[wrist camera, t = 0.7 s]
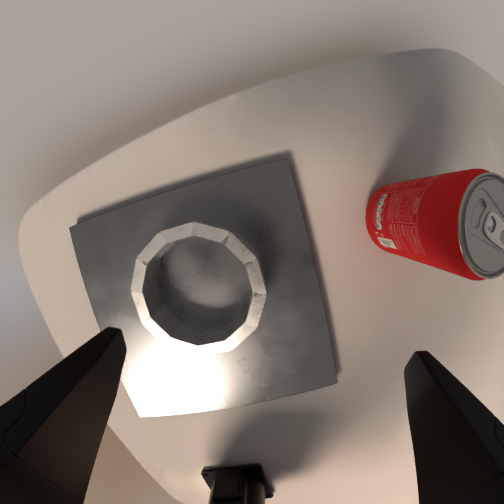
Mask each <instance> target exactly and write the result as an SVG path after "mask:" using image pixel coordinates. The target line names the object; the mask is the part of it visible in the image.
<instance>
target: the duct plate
mask: <svg viewBox="0 0 504 504" xmlns="http://www.w3.org/2000/svg"><path fill="white" fill-rule="evenodd" d="M69 229H70V233H71V238H72V242H73V246H74V250H75V253H76V257H77V261H78V264H79V268H80V271H81V275H82V278H83V281H84V285H85V288H86V291H87V294H88V297H89V300H90V303H91V306H92V309H93V312H94V314H95V317H96V320H97V323H98V325H99V328H100V331H102V330H104V329H105V328H107V327H115V328H119V329H121V330H122V333H123V336H124V340H125V343H126V347H127V353H126V358H125V362H124V366H123V370H122V374H121V380H122V382H123V384H124V386H125V388H126V391H127V393H128V395H129V397H130V399H131V401H132V403H133V404H134V406H135V408H136V410H137V412H138V414H139V416H140V417H153V416H166V415H178V414H187V413H196V412H204V411H212V410H219V409H225V408H231V407H237V406H243V405H249V404H254V403H259V402H264V401H269V400H274V399H278V398H283V397H287V396H291V395H295V394H300V393H304V392H307V391H311V390H315V389H319V388H322V387H326V386H329V385H333V384H336V383H338V380H337V374H336V369H335V363H334V357H333V352H332V346H331V341H330V336H329V330H328V325H327V320H326V315H325V310H324V306H323V301H322V296H321V291H320V287H319V282H318V278H317V273H316V269H315V264H314V260H313V256H312V251H311V247H310V243H309V239H308V235H307V230H306V226H305V222H304V218H303V214H302V210H301V207H300V203H299V199H298V195H297V191H296V188H295V184H294V180H293V176H292V173H291V169H290V166H289V162H288V159H284V160H279V161H275V162H271V163H267V164H263V165H259V166H255V167H251V168H247V169H244V170H240V171H236V172H232V173H229V174H225V175H222V176H218V177H214V178H211V179H208V180H204V181H201V182H197V183H194V184H191V185H187V186H184V187H181V188H178V189H175V190H171V191H168V192H165V193H162V194H159V195H156V196H153V197H150V198H147V199H144V200H141V201H138V202H135V203H133V204H130V205H127V206H124V207H121V208H119V209H116V210H113V211H110V212H108V213H105V214H102V215H100V216H97V217H94V218H92V219H89V220H87V221H84V222H82V223H79V224H77V225H74V226H72V227H69Z"/></svg>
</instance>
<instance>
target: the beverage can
mask: <svg viewBox="0 0 504 504" xmlns="http://www.w3.org/2000/svg"><path fill="white" fill-rule="evenodd" d="M365 219H366V226H367V230H368V233H369V235H370V237H371V239H372V240H373V242H374V243H375V244H376V245H377V246H378V247H379V248H381V249H383V250H384V251H387V252H390V253H393V254H396V255H399V256H402V257H405V258H408V259H412V260H415V261H418V262H421V263H424V264H427V265H430V266H433V267H436V268H439V269H442V270H444V271H447V272H450V273H453V274H456V275H459V276H462V277H465V278H468V279H471V280H484V279H493V278H496V277H499V276H501V275H502V274H503V273H504V178H503V177H502V176H500V175H498V174H496V173H492V172H489V171H487V170H484V169H470V170H464V171H458V172H452V173H447V174H441V175H436V176H430V177H425V178H420V179H414V180H409V181H404V182H399V183H394V184H389V185H386V186H383V187H382V188H380V189H379V190H377V191H376V192H375V193H374V195H373V196H372V197H371V199H370V201H369V203H368V206H367V210H366V216H365Z"/></svg>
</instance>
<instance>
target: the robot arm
mask: <svg viewBox="0 0 504 504" xmlns="http://www.w3.org/2000/svg"><path fill="white" fill-rule="evenodd" d="M126 353H127V347H126V343H125V340H124V336H123V333H122V330H121V329H119V328H115V327H107V328H105V329H104V330H102V331H101V332H100V333H98V334H97V335H96V336H94V337H93V338H91V339H90V340H89V341H87V342H86V343H85V344H83V345H82V346H81V347H79V348H78V349H77V350H75V351H74V352H72V353H71V354H70V355H68V356H67V357H66V358H64V359H63V360H62V361H61V362H60V363H58V364H56V365H55V366H54V367H53V368H51V369H50V370H49V371H47V372H46V373H44V374H43V375H42V376H41V377H39V378H38V379H37V380H35V381H34V382H33V383H31V384H30V385H29V386H28V387H26V389H23V390H22V391H21V392H20V393H18V394H17V395H16V396H14V397H13V398H12V399H10V400H9V401H7V402H6V403H4V404H3V405H2V406H0V504H83V501H84V499H85V494H86V491H87V487H88V484H89V480H90V476H91V473H92V469H93V466H94V463H95V459H96V456H97V453H98V449H99V446H100V443H101V440H102V437H103V434H104V430H105V427H106V424H107V421H108V418H109V416H110V413H111V410H112V407H113V404H114V401H115V398H116V395H117V391H118V387H119V382H120V378H121V374H122V370H123V366H124V362H125V358H126ZM404 379H405V389H406V400H407V411H408V418H409V424H410V430H411V436H412V443H413V450H414V457H415V465H416V473H417V483H418V494H419V504H504V425H503V424H502V423H501V422H500V421H499V419H498V418H497V417H495V416H494V415H493V414H492V412H491V411H490V410H489V409H488V408H486V407H485V406H484V405H483V404H482V403H481V402H480V401H479V400H478V399H477V398H476V397H475V396H474V395H473V394H472V393H471V392H470V391H469V390H468V389H467V388H466V387H465V386H464V385H463V384H462V383H461V382H460V381H459V380H458V379H457V378H456V377H455V376H454V375H453V374H451V373H450V372H449V371H448V370H447V369H446V368H445V367H444V366H443V365H442V364H441V363H440V362H439V361H438V360H437V359H435V358H434V357H433V356H432V355H431V354H430V353H429V352H428V351H416V352H415V353H414V354H413V355H412V357H411V359H410V360H409V362H408V363H407V365H406V367H405V369H404ZM201 475H202V477H203V478H204V480H205V482H206V483H207V485H208V486H209V488H210V489H211V493H210V499H209V504H265V499H266V498H272V497H273V491H272V489H271V487H270V484H269V482H268V480H267V478H266V475H265V473H264V471H263V468H262V466H261V465H259V464H253V465H246V466H238V467H229V468H219V469H206V470H202V472H201Z"/></svg>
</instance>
